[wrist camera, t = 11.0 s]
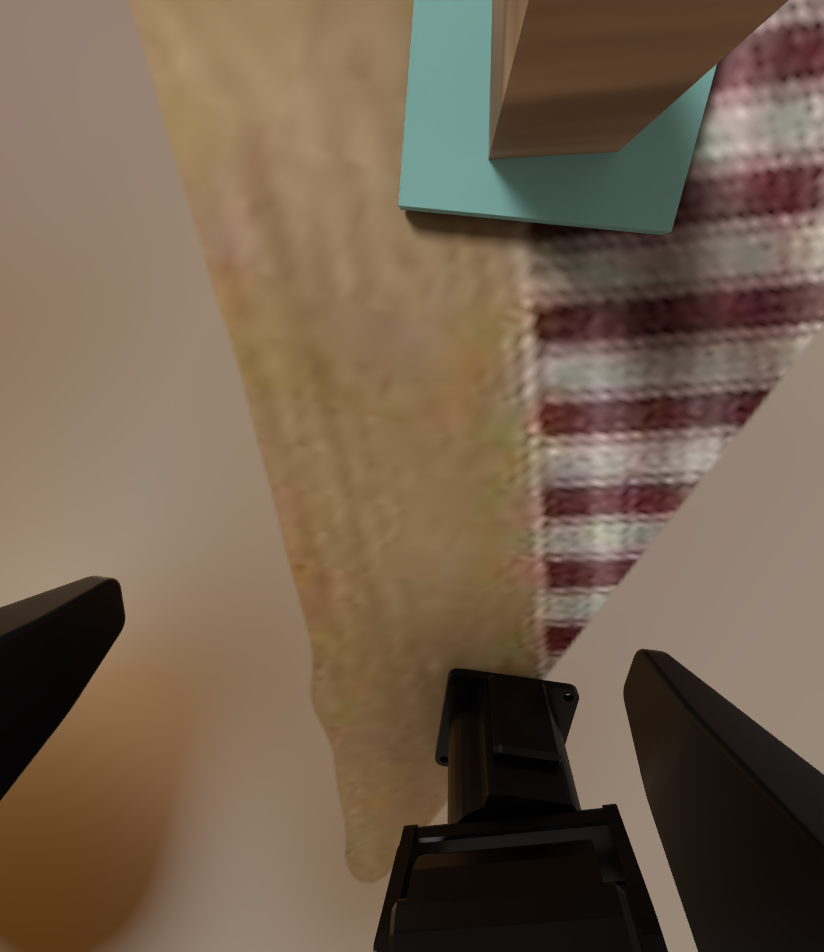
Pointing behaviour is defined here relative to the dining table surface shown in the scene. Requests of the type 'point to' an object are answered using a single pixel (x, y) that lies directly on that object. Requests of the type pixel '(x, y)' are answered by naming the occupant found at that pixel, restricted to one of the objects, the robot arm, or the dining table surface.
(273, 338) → the dining table surface
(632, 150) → the mat
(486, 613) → the dining table surface
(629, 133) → the walnut block
